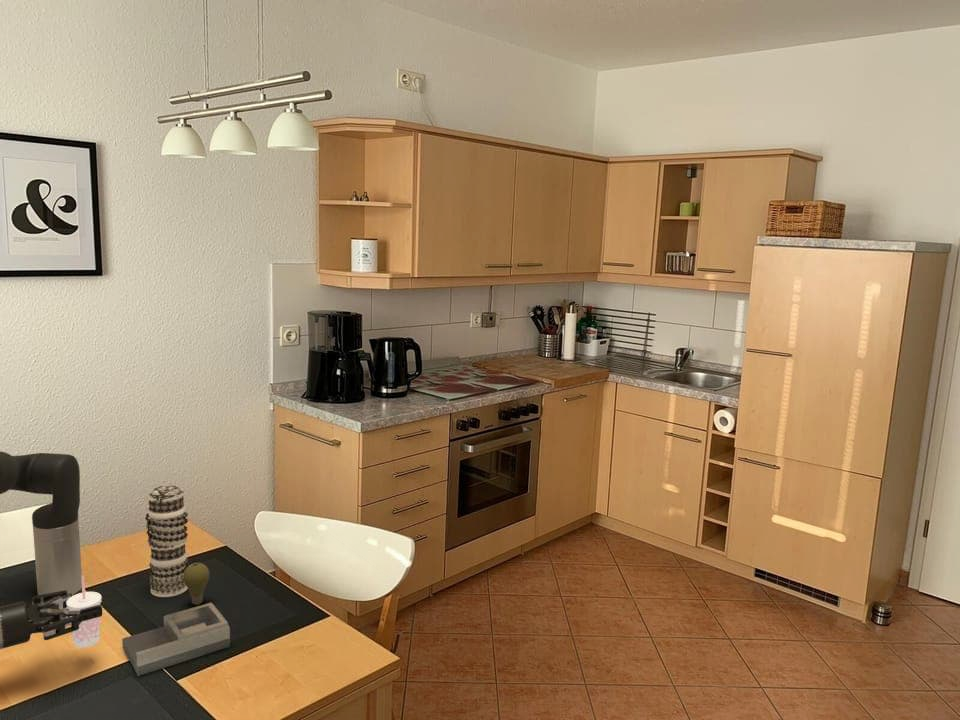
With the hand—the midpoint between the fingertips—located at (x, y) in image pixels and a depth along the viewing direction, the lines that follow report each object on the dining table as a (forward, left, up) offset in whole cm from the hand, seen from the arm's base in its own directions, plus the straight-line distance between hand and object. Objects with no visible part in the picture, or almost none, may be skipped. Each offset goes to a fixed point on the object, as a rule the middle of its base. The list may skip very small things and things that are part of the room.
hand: (97, 602), depth 147 cm
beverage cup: (0, -2, -8) cm, 8 cm away
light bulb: (-11, +22, -12) cm, 28 cm away
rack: (+4, +13, -12) cm, 19 cm away
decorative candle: (-22, +19, -12) cm, 32 cm away
